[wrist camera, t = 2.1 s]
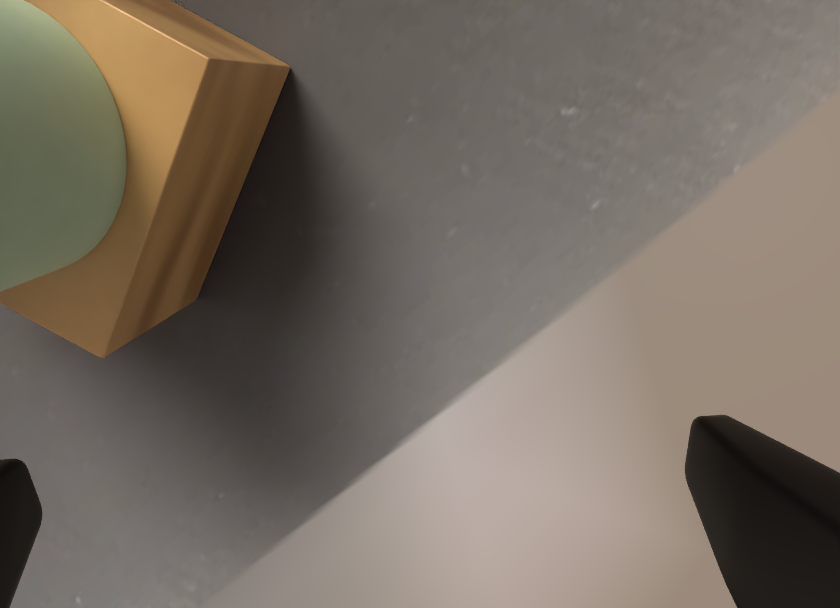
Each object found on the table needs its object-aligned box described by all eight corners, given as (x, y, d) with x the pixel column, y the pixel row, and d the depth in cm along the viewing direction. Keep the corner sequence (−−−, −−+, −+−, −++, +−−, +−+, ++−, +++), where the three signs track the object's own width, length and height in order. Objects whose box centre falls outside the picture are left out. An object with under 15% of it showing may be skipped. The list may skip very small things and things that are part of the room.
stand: (291, 66, 19) (210, 58, 14) (197, 300, 21) (102, 359, 17) (41, -71, 19) (-125, -125, 14) (-22, 182, 21) (-178, 207, 17)
